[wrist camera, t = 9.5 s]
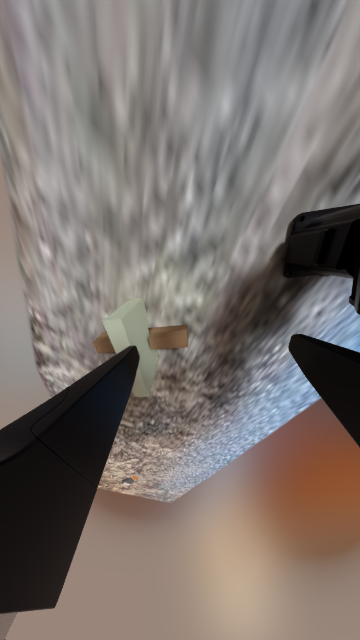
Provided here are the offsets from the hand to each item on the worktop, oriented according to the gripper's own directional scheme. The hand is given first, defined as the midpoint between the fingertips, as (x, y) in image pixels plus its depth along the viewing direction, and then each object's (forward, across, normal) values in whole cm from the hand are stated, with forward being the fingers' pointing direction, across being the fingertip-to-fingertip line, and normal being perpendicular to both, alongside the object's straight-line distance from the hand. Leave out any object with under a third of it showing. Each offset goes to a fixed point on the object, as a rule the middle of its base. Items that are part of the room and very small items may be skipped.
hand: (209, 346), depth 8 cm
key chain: (+13, +31, +74) cm, 81 cm away
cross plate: (+12, +9, +6) cm, 16 cm away
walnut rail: (+12, +9, +6) cm, 16 cm away
